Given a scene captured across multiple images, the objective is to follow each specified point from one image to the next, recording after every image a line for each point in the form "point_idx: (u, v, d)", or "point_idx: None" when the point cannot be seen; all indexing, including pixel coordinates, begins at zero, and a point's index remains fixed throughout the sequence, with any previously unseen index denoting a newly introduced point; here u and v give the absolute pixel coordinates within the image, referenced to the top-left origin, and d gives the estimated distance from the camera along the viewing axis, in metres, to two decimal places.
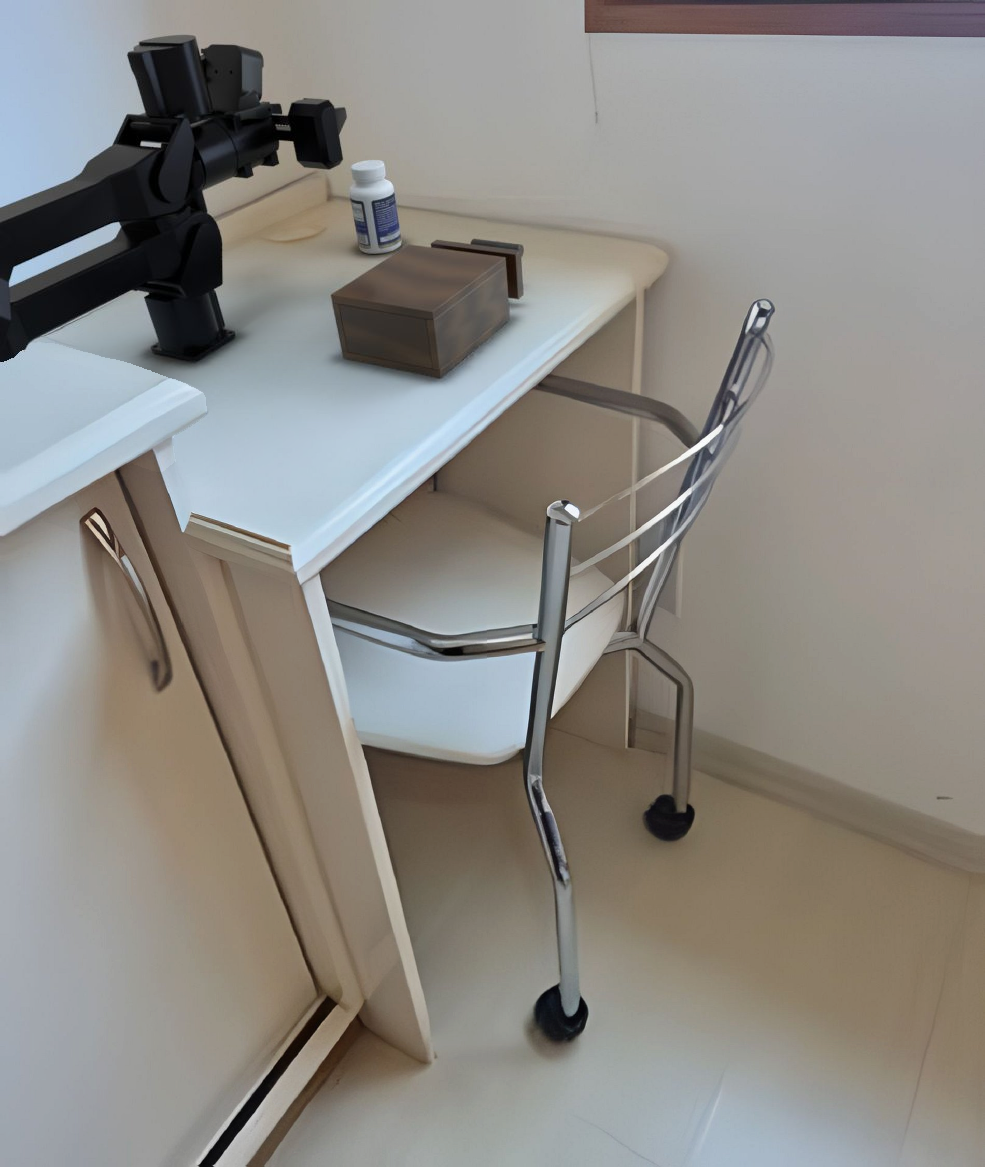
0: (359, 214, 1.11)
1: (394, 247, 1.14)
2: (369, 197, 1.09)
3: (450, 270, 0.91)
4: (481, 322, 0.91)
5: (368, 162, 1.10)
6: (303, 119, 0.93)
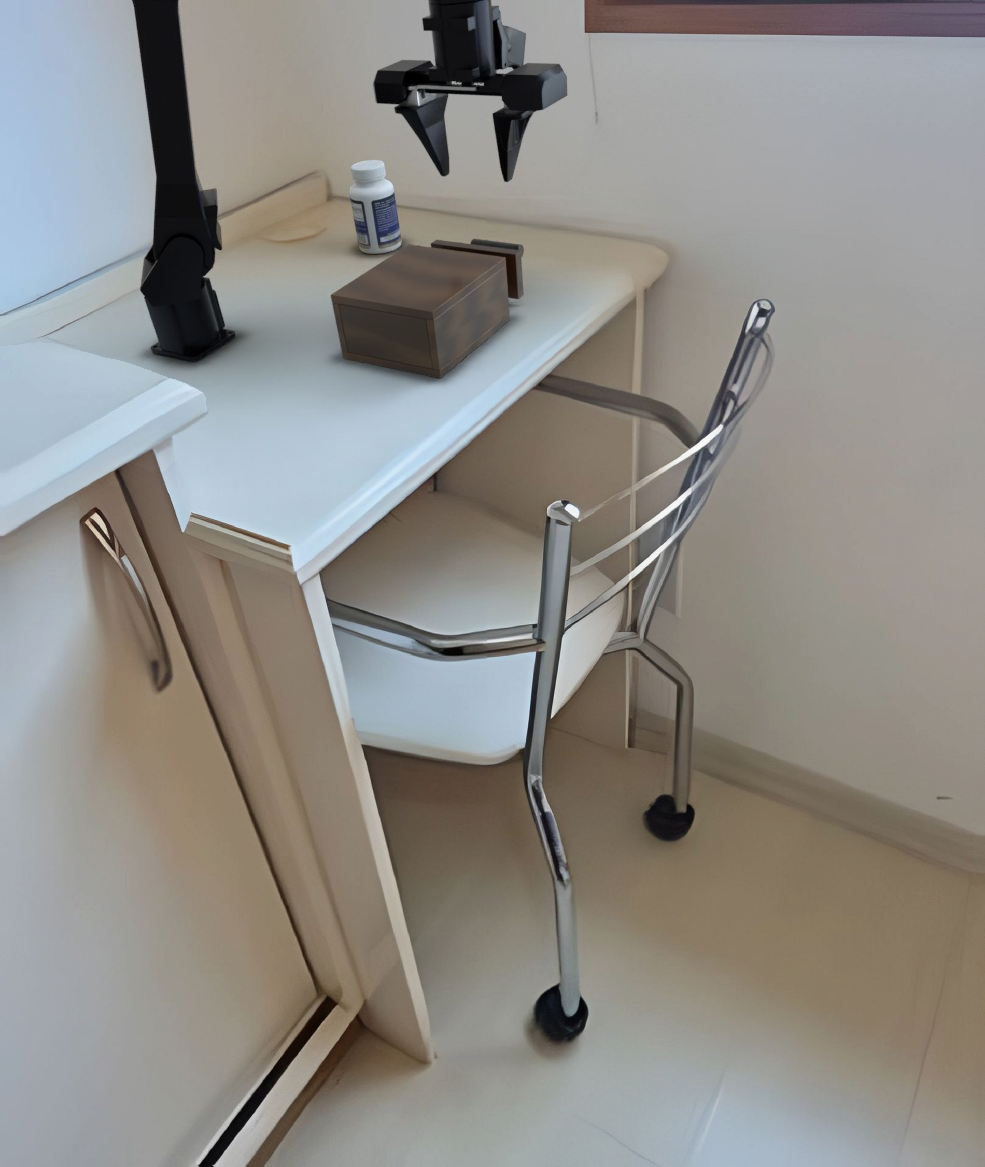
0: (359, 214, 1.11)
1: (394, 247, 1.14)
2: (369, 197, 1.09)
3: (450, 270, 0.91)
4: (481, 322, 0.91)
5: (368, 162, 1.10)
6: (544, 64, 0.86)
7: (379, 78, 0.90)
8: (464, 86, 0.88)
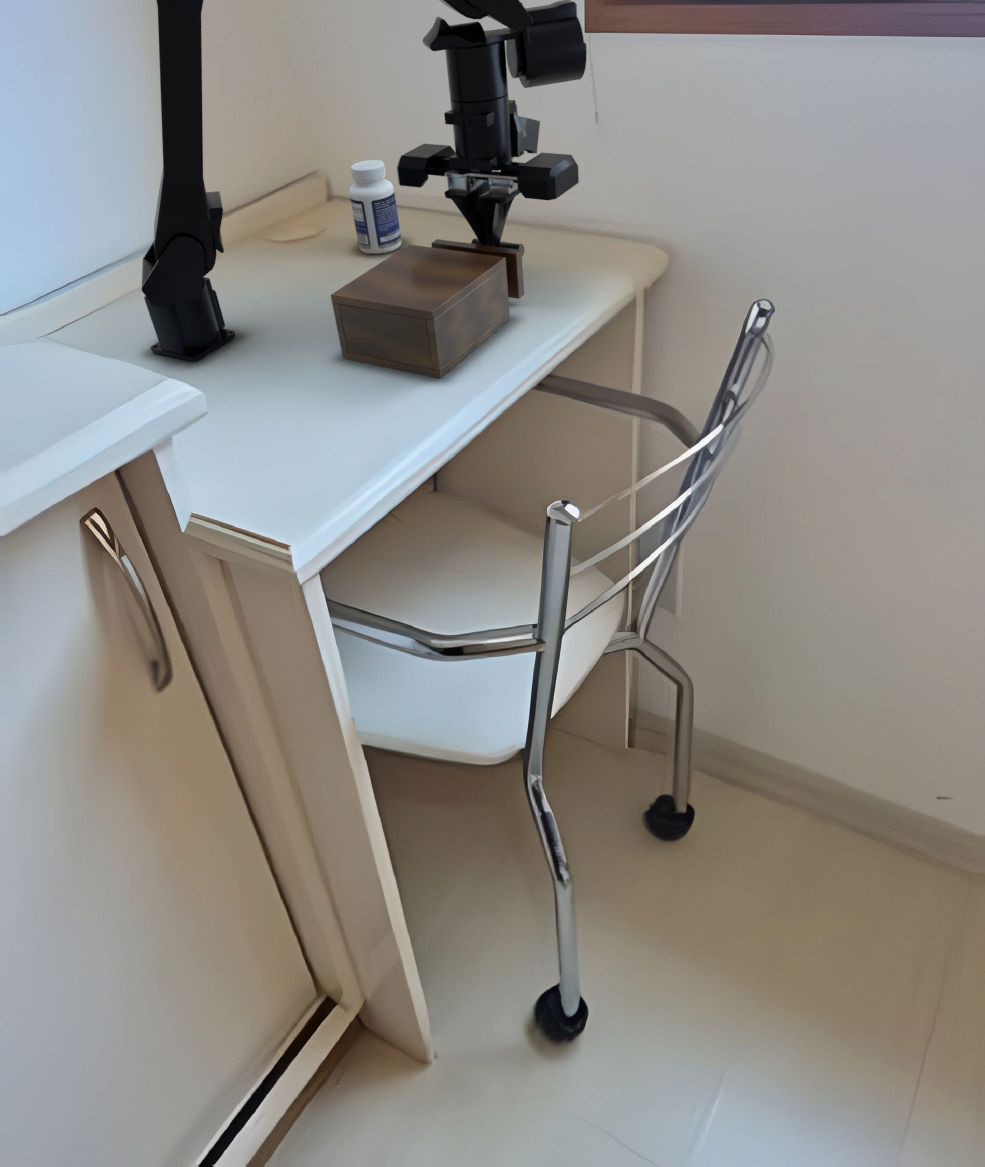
0: (359, 214, 1.11)
1: (394, 247, 1.14)
2: (369, 197, 1.09)
3: (450, 270, 0.91)
4: (481, 322, 0.91)
5: (368, 162, 1.10)
6: (557, 154, 0.92)
7: (402, 163, 0.96)
8: (513, 176, 0.92)
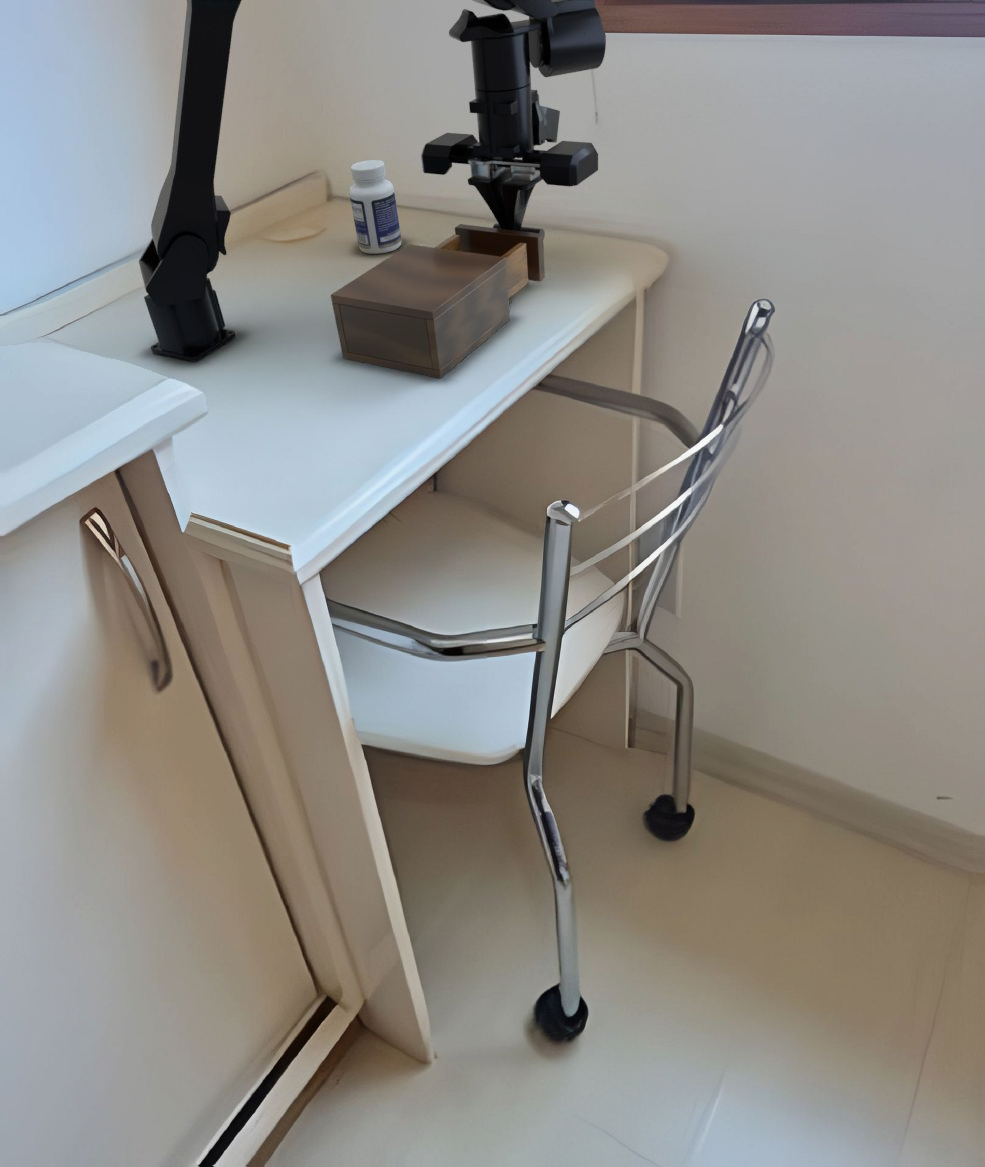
0: (359, 214, 1.11)
1: (394, 247, 1.14)
2: (369, 197, 1.09)
3: (450, 270, 0.91)
4: (481, 322, 0.91)
5: (368, 162, 1.10)
6: (577, 142, 0.95)
7: (427, 151, 1.00)
8: (535, 163, 0.96)
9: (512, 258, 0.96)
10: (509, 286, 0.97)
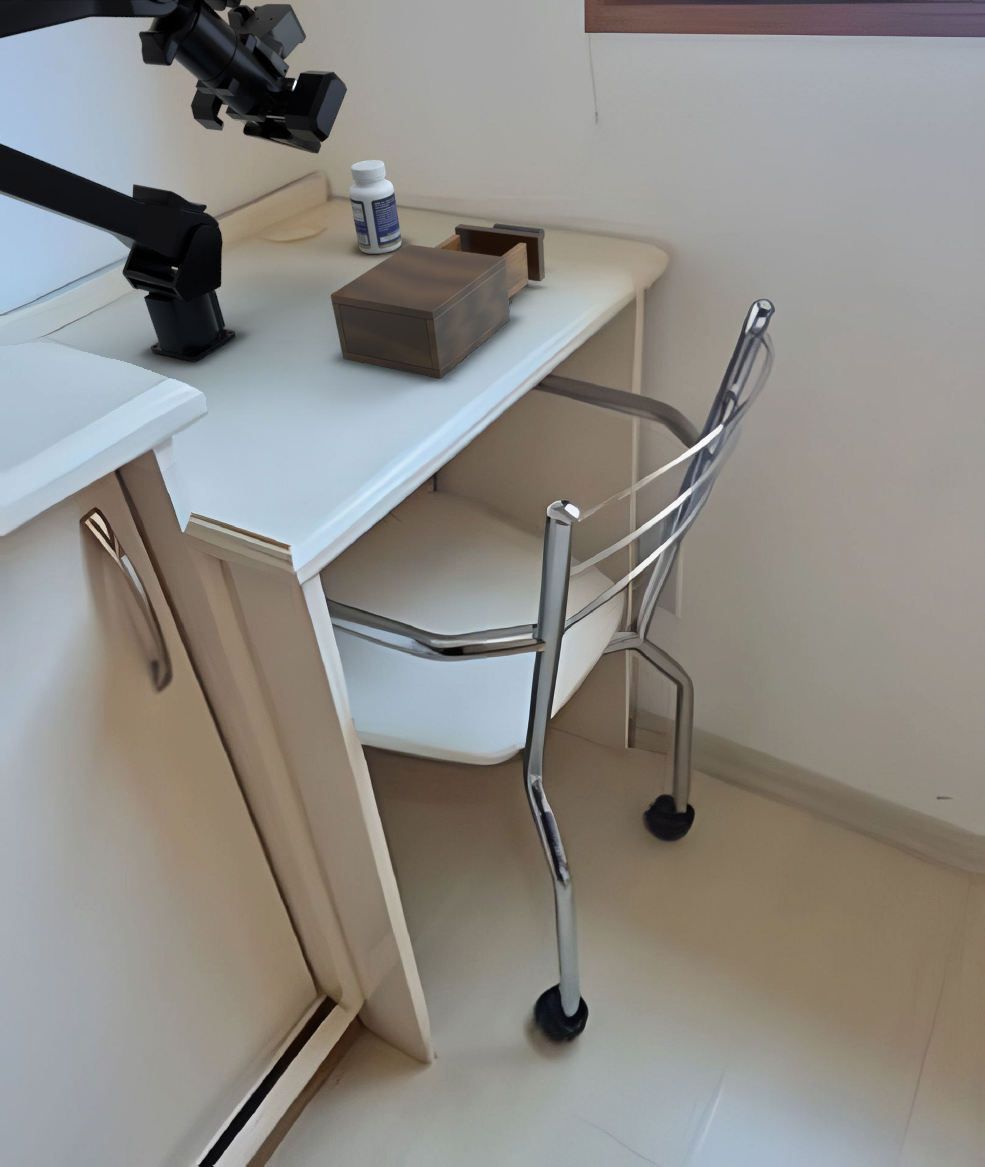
0: (359, 214, 1.11)
1: (394, 247, 1.14)
2: (369, 197, 1.09)
3: (450, 270, 0.91)
4: (481, 322, 0.91)
5: (368, 162, 1.10)
6: (312, 77, 0.90)
7: (195, 113, 0.98)
8: None
9: (512, 258, 0.96)
10: (509, 286, 0.97)
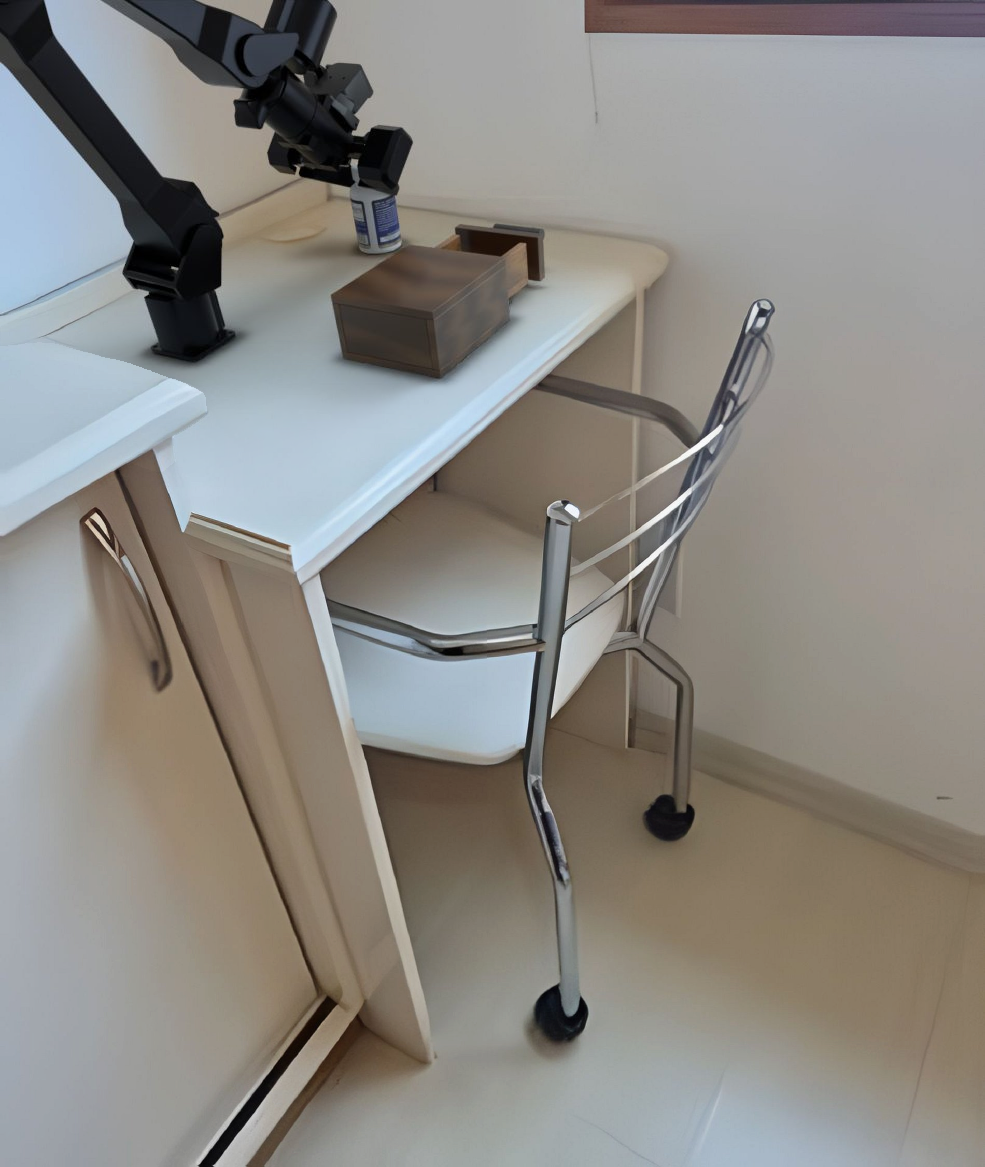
0: (359, 214, 1.11)
1: (394, 247, 1.14)
2: (369, 197, 1.09)
3: (450, 270, 0.91)
4: (481, 322, 0.91)
5: None
6: (383, 132, 1.00)
7: (271, 160, 1.08)
8: None
9: (512, 258, 0.96)
10: (509, 286, 0.97)
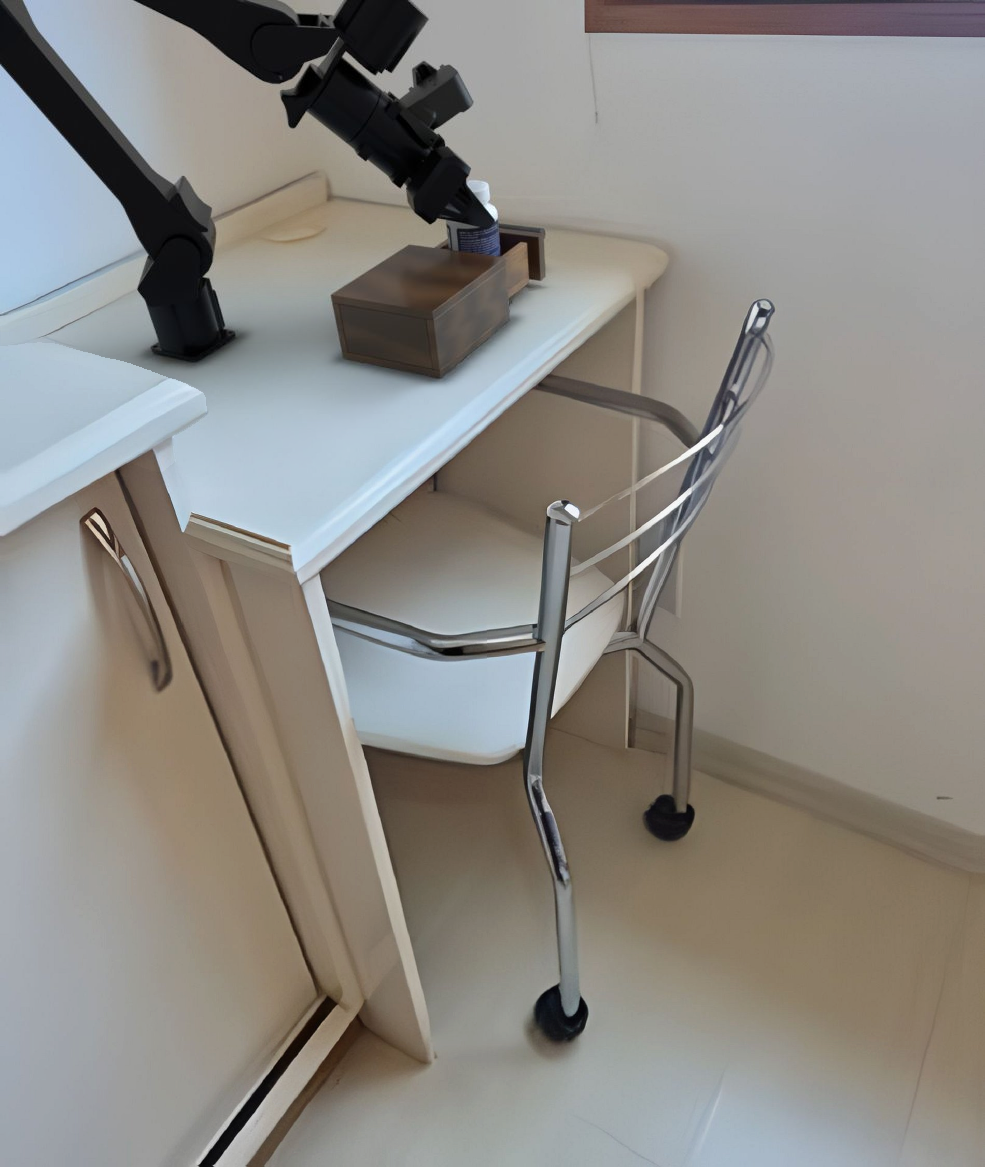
0: (448, 239, 0.96)
1: None
2: (455, 224, 0.94)
3: (450, 270, 0.91)
4: (481, 322, 0.91)
5: (475, 183, 0.94)
6: (436, 156, 0.84)
7: None
8: (412, 179, 0.90)
9: (513, 257, 0.96)
10: (510, 285, 0.97)
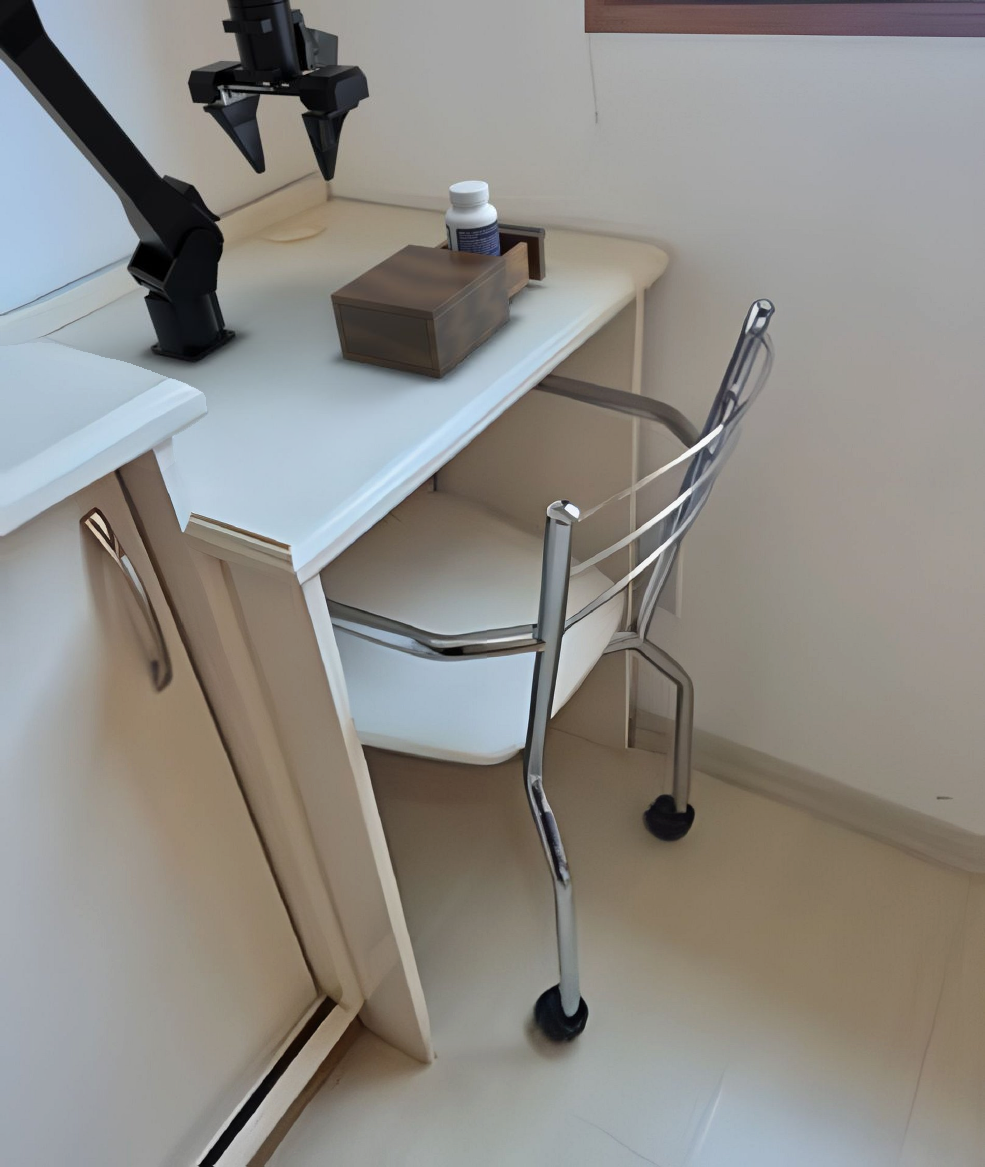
0: (447, 239, 0.96)
1: None
2: (454, 224, 0.94)
3: (450, 270, 0.91)
4: (481, 322, 0.91)
5: (474, 183, 0.94)
6: (343, 66, 0.89)
7: (192, 78, 0.93)
8: (263, 86, 0.91)
9: (513, 257, 0.96)
10: (510, 285, 0.97)
